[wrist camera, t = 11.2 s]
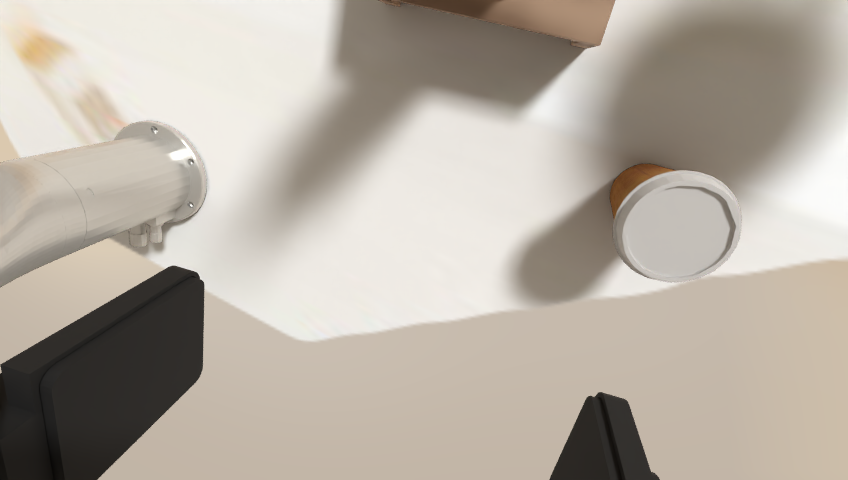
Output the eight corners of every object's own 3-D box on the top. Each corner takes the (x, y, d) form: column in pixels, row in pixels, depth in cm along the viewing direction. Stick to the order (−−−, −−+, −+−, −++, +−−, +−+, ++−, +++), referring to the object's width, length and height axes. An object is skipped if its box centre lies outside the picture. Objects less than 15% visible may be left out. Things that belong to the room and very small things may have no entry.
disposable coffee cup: (682, 240, 48) (731, 292, 37) (587, 233, 49) (607, 282, 38) (702, 149, 44) (764, 177, 33) (600, 145, 46) (626, 171, 35)
